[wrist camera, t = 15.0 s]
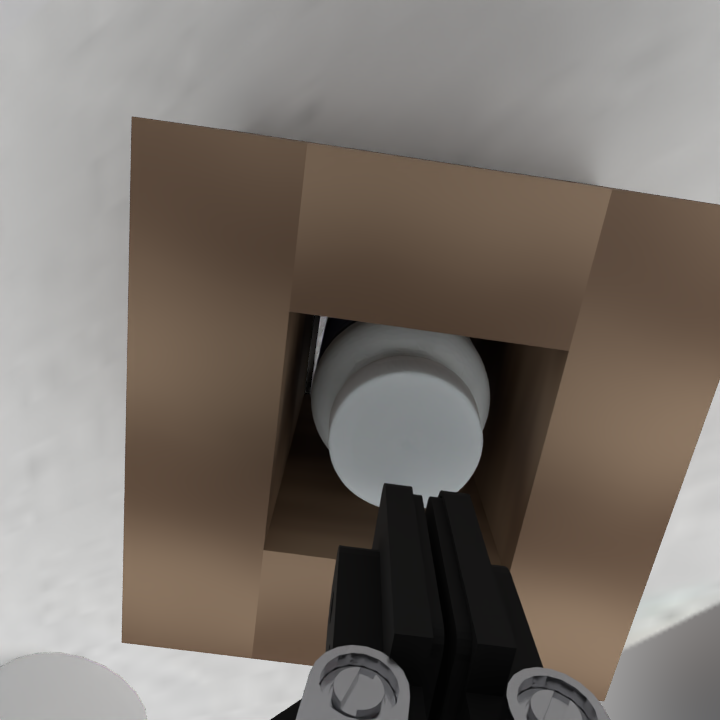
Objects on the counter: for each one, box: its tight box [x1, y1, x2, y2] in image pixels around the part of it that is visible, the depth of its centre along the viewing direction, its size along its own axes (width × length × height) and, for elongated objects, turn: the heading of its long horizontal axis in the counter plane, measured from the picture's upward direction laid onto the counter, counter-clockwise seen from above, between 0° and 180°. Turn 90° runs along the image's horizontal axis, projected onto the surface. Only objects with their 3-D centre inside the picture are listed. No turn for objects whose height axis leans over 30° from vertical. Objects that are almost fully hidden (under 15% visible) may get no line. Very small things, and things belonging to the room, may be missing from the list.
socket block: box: [122, 117, 720, 701], centre depth 20 cm, size 14×14×11 cm
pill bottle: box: [311, 317, 490, 508], centre depth 20 cm, size 5×5×10 cm
